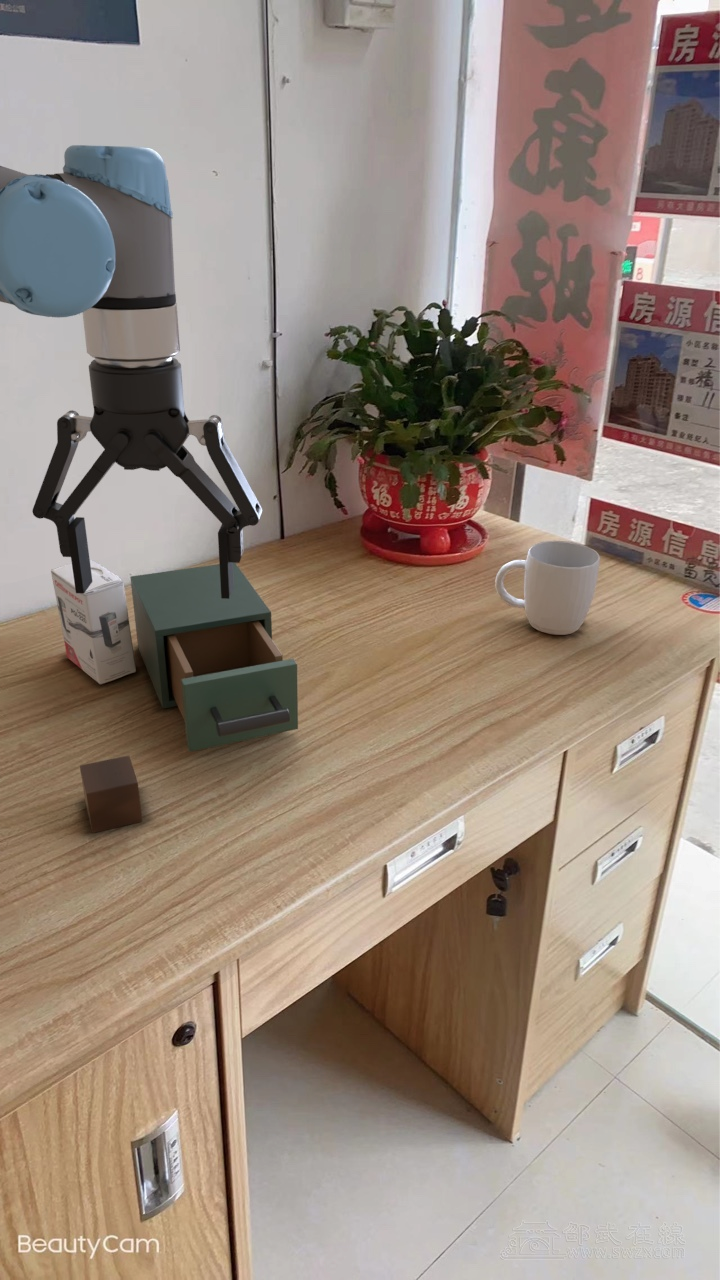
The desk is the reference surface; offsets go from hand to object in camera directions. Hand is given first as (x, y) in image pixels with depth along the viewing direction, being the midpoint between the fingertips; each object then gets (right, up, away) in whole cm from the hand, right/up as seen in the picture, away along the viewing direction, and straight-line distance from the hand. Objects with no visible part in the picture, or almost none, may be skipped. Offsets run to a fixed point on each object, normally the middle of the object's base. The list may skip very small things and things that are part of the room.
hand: (156, 590), depth 83 cm
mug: (+43, -2, +33) cm, 54 cm away
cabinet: (+1, -8, +21) cm, 22 cm away
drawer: (+6, -13, +10) cm, 17 cm away
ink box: (-11, -8, +20) cm, 25 cm away
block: (-3, -20, -3) cm, 21 cm away
